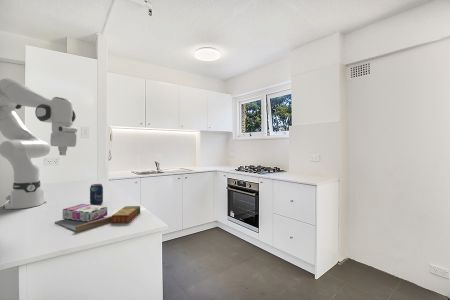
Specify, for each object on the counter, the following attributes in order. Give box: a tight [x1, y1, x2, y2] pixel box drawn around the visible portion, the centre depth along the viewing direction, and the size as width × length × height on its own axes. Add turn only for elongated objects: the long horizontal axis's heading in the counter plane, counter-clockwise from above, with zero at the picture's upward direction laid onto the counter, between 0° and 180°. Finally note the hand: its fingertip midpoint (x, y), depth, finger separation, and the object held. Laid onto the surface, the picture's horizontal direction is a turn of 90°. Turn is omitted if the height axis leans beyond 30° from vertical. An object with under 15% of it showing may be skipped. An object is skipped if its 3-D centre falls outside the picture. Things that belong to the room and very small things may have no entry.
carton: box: [110, 205, 141, 224], centre depth 112 cm, size 8×16×4 cm, turn 2°
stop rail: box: [74, 215, 112, 233], centre depth 100 cm, size 1×16×2 cm, turn 149°
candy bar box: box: [62, 203, 108, 222], centre depth 109 cm, size 11×5×16 cm
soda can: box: [89, 183, 104, 206], centre depth 135 cm, size 7×7×12 cm
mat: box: [54, 216, 106, 232], centre depth 105 cm, size 19×16×1 cm
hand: (62, 155), depth 115 cm, fingers closed
